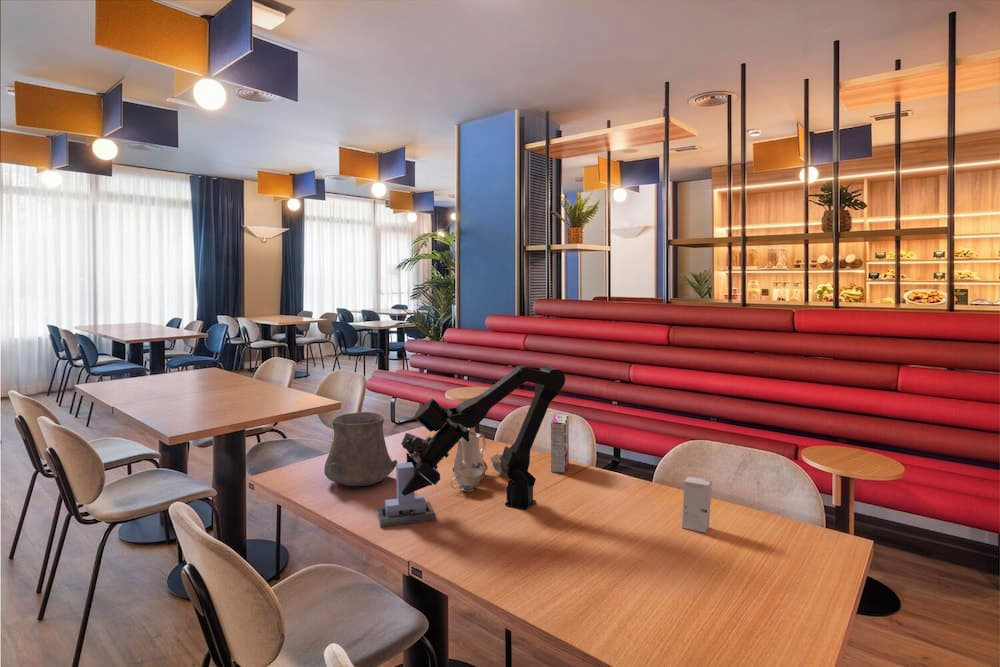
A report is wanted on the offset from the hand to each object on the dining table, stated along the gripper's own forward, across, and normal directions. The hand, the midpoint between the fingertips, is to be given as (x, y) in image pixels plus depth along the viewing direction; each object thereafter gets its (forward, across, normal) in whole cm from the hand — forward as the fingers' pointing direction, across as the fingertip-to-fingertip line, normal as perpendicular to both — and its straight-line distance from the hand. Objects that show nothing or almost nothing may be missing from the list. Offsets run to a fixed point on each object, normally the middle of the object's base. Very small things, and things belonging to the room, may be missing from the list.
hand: (400, 488), depth 153 cm
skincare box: (-43, +27, +55) cm, 75 cm away
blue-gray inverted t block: (+5, 0, +7) cm, 8 cm away
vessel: (+11, -31, +1) cm, 33 cm away
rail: (+5, 0, +7) cm, 8 cm away
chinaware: (-13, -23, +25) cm, 36 cm away
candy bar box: (-33, -26, +45) cm, 62 cm away
